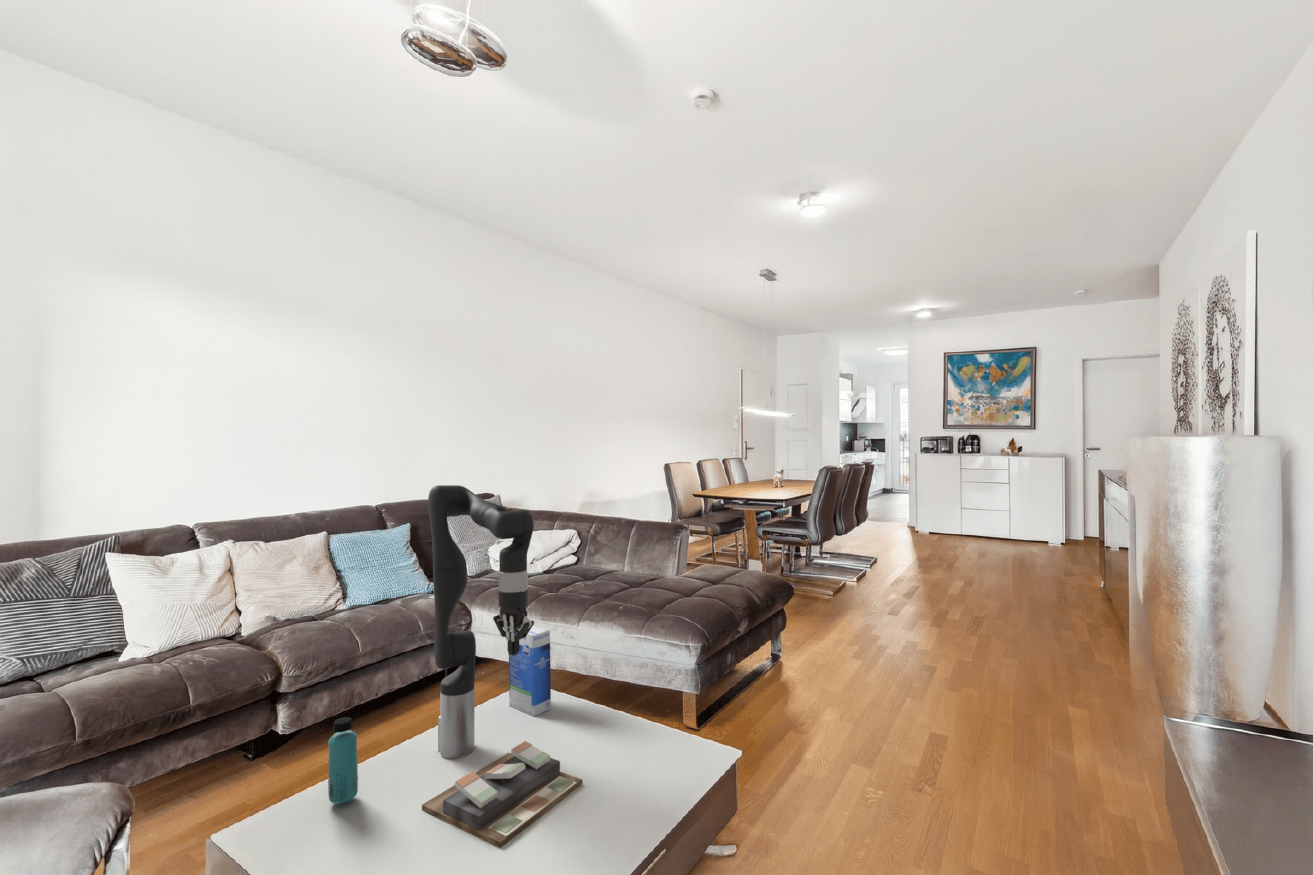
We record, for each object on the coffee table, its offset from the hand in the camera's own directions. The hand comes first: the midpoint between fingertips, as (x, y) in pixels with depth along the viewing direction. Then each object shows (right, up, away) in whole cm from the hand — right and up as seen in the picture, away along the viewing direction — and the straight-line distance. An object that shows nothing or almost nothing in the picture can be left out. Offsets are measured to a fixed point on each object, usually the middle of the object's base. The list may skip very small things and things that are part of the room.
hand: (513, 654), depth 155 cm
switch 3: (+5, -26, -1) cm, 26 cm away
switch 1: (-5, -26, -16) cm, 31 cm away
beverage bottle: (-39, -32, -10) cm, 52 cm away
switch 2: (0, -26, -8) cm, 27 cm away
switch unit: (0, -32, -8) cm, 33 cm away
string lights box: (-5, -33, +41) cm, 53 cm away
